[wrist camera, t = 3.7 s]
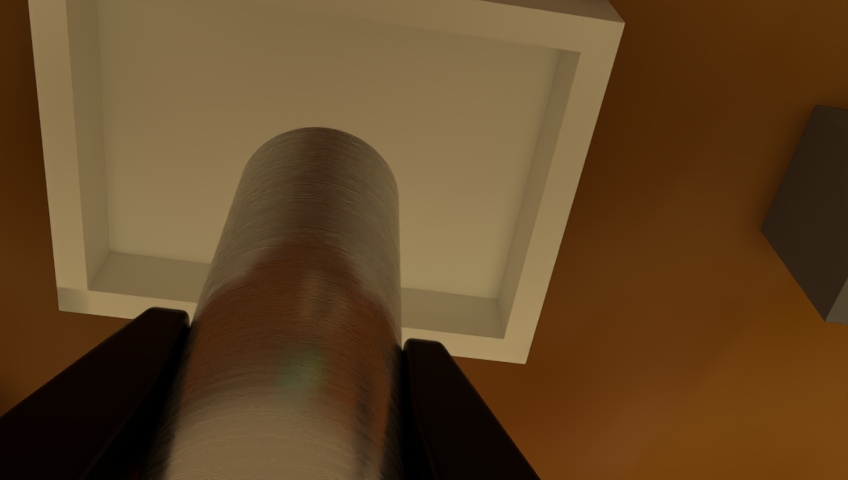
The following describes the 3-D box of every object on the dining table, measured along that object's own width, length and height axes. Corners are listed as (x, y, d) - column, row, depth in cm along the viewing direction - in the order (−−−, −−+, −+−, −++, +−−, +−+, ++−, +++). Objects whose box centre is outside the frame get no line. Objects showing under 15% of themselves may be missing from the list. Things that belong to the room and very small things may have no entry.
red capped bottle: (444, 119, 12) (545, 815, 4) (406, 298, 13) (428, 1030, 6) (217, 84, 11) (-138, 783, 4) (207, 274, 13) (-51, 1026, 5)
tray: (602, -8, 20) (625, 23, 18) (515, 311, 25) (525, 363, 23) (65, -94, 19) (20, -72, 17) (90, 260, 24) (59, 310, 22)
